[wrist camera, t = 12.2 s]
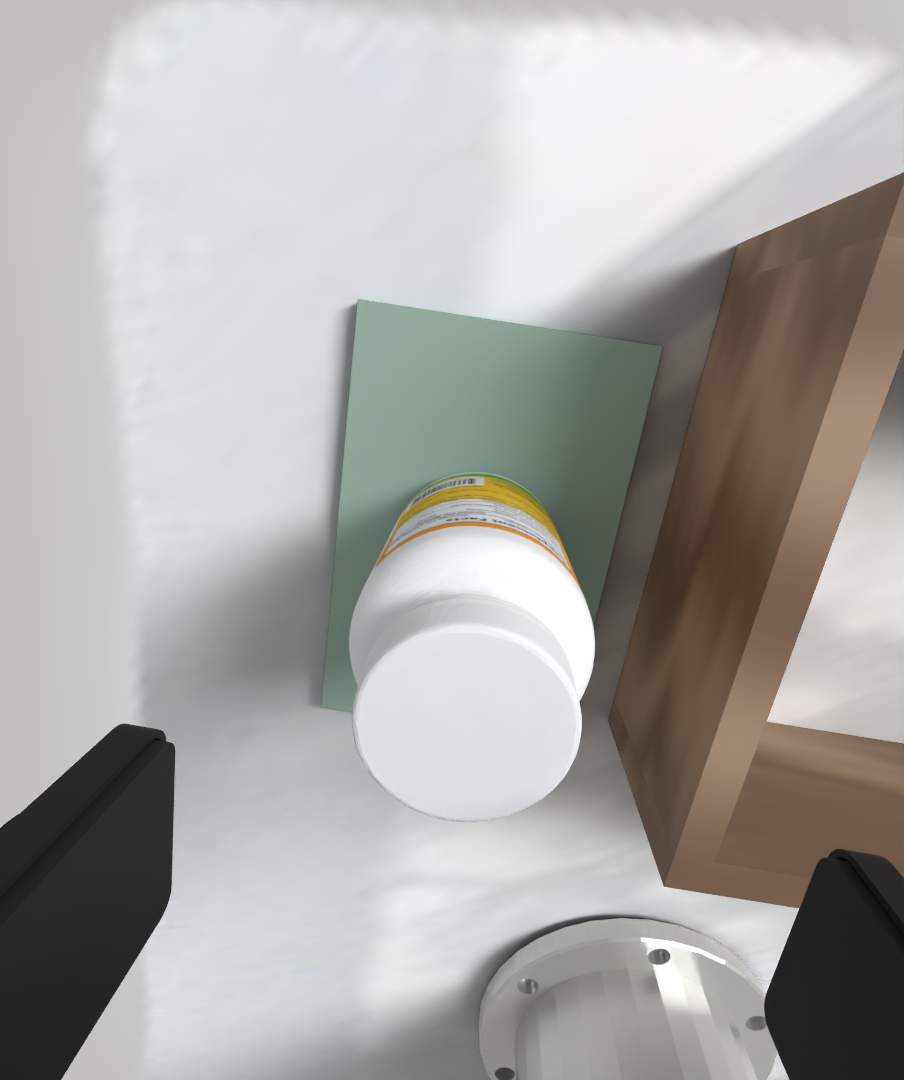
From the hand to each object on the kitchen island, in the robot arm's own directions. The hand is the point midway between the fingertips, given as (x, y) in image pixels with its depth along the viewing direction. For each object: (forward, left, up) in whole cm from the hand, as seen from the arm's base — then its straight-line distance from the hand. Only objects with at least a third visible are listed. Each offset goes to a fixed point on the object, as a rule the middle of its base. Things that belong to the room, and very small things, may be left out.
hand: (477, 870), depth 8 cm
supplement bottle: (+1, 0, -12) cm, 12 cm away
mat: (+1, 0, -12) cm, 12 cm away
